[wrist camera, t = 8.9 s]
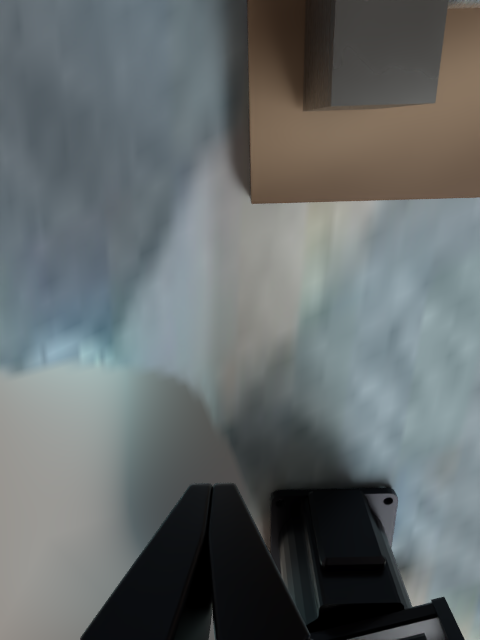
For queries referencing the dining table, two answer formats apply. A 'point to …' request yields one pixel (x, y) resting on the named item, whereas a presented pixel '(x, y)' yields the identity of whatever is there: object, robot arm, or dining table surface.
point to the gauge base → (359, 123)
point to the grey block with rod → (373, 52)
